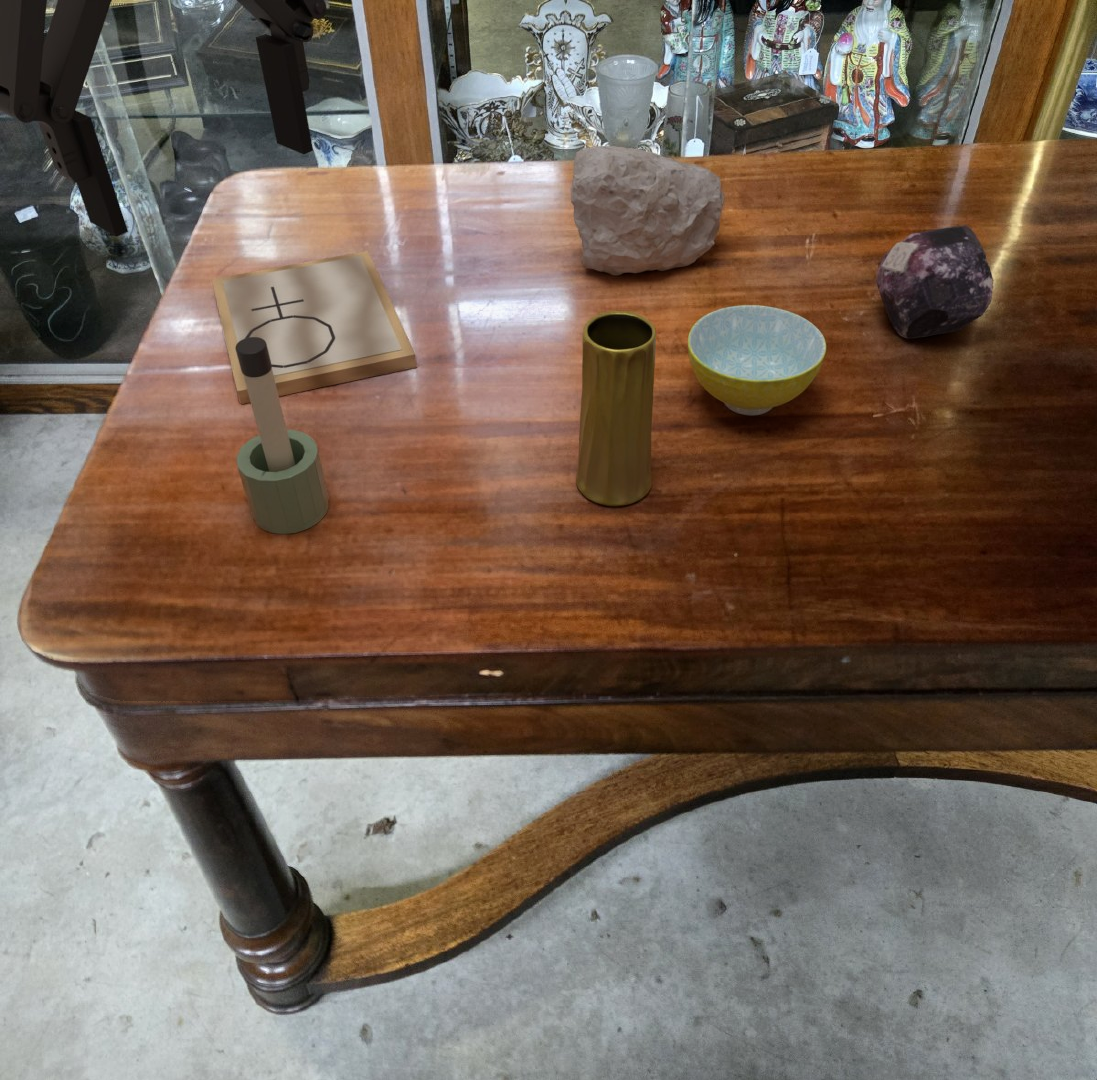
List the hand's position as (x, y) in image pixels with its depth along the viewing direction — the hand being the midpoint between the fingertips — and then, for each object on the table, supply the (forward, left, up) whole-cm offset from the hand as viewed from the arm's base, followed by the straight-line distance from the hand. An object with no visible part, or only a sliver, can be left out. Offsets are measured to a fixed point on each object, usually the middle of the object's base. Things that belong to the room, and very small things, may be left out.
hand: (207, 185), depth 63 cm
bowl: (+40, 0, -27) cm, 48 cm away
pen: (0, 0, -26) cm, 26 cm away
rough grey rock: (+41, +25, -27) cm, 55 cm away
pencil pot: (0, 0, -27) cm, 27 cm away
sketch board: (+6, +25, -27) cm, 37 cm away
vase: (+25, -6, -27) cm, 37 cm away
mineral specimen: (+61, +5, -27) cm, 67 cm away
